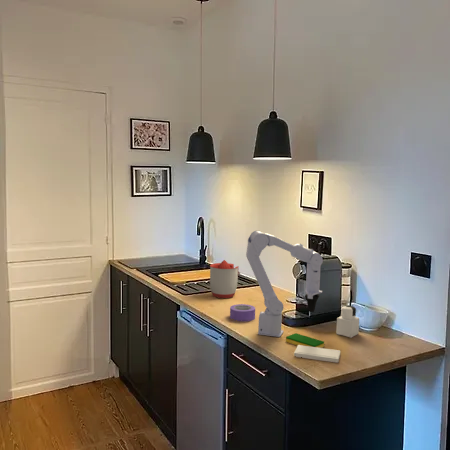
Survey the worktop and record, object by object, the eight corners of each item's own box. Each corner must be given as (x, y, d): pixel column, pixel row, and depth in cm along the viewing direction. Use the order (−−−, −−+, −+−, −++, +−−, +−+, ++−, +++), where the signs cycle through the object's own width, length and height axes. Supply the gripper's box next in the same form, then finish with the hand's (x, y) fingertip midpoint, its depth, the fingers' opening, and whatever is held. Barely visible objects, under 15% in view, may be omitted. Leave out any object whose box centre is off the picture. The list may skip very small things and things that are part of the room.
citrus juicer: (245, 298, 260) (246, 261, 258) (216, 300, 253) (217, 263, 251) (232, 291, 274) (233, 256, 272) (204, 293, 267) (205, 258, 265)
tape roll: (238, 323, 216) (238, 312, 216) (225, 316, 226) (225, 305, 226) (259, 319, 222) (260, 309, 222) (246, 313, 232) (246, 303, 232)
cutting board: (294, 356, 177) (294, 352, 177) (297, 348, 186) (298, 344, 186) (338, 362, 173) (338, 358, 172) (340, 354, 181) (340, 350, 181)
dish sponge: (314, 351, 184) (314, 345, 184) (285, 342, 193) (285, 336, 193) (324, 347, 189) (324, 341, 189) (295, 338, 199) (295, 332, 198)
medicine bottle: (343, 330, 210) (344, 303, 209) (358, 333, 206) (360, 306, 204) (335, 334, 205) (337, 306, 203) (351, 337, 200) (353, 309, 199)
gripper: (320, 284, 194) (318, 317, 196) (324, 277, 208) (322, 308, 209) (303, 282, 196) (301, 315, 198) (308, 276, 210) (306, 306, 212)
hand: (311, 311), depth 204 cm, fingers closed
